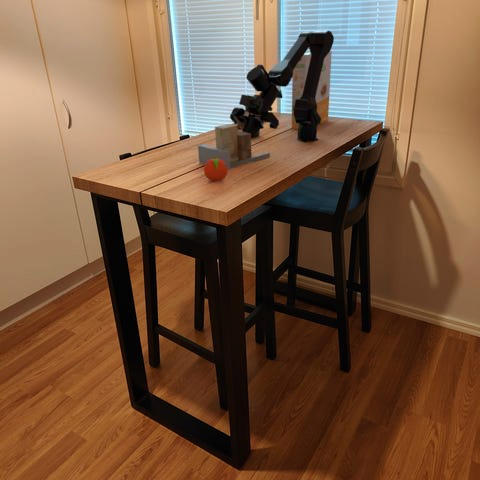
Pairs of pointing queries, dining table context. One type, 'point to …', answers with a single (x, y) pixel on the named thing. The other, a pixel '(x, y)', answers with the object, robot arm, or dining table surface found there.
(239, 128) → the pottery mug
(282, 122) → the dining table surface
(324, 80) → the cereal box
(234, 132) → the skincare box
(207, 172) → the red rounded fruit
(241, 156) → the walnut block
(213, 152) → the backstop rail
